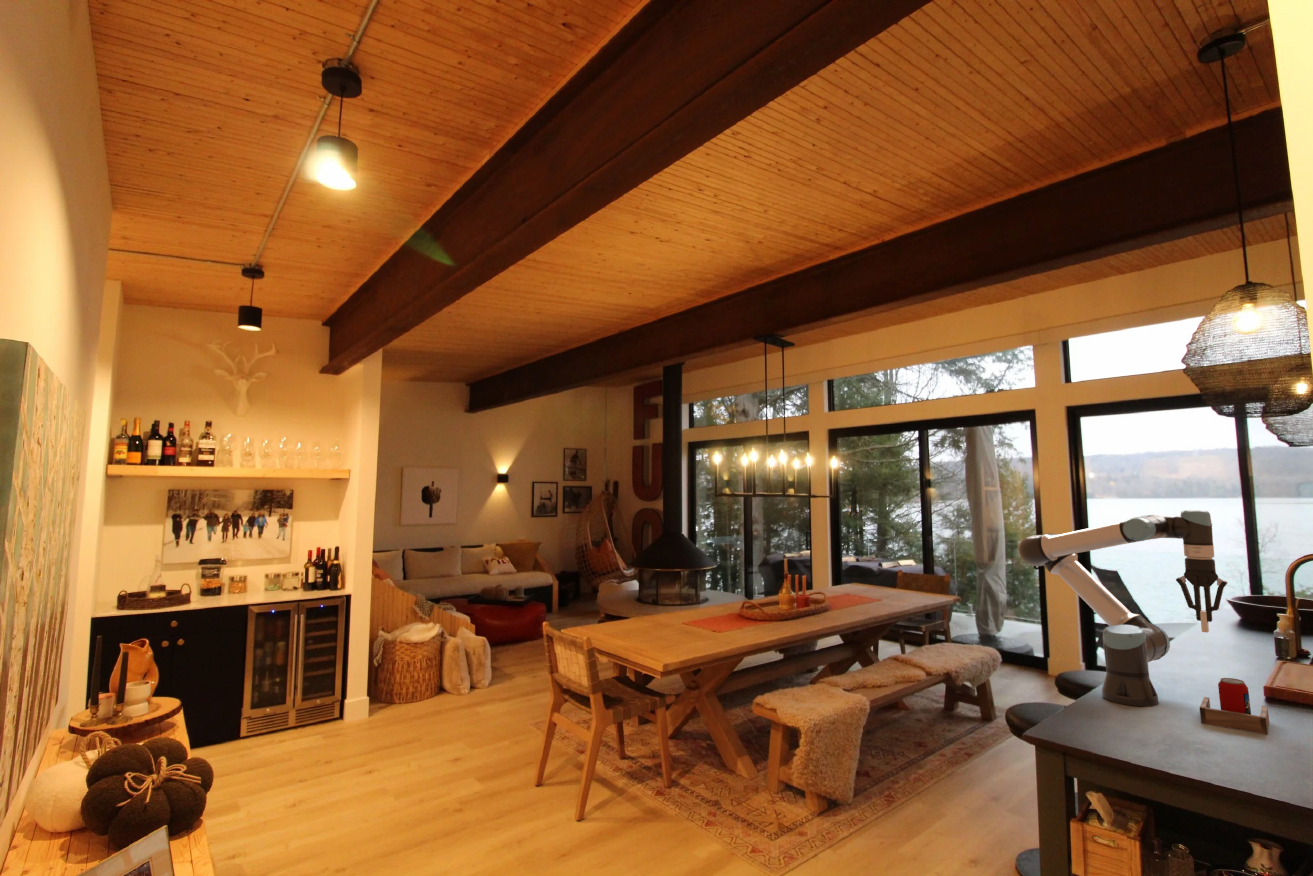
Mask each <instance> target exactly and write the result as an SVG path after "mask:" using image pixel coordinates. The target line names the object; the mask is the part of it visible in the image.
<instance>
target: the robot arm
mask: <svg viewBox="0 0 1313 876" xmlns="http://www.w3.org/2000/svg"><path fill="white" fill-rule="evenodd" d="M1157 539H1182V542H1183V544H1182V545H1183V554H1184V557H1185V558H1184V567H1185V570H1184V573H1183V575H1182V576H1180V577H1176V578H1175V581H1176V582H1177V583H1178V585H1179V586H1180V589H1181V591H1182V593H1183V596H1184V599H1185V603H1186V604H1187V606H1188V608H1189V609H1192V610H1194V611H1195V616H1196V617H1195V618H1196V620H1197V621H1198V622H1199V621H1200V627H1201V632H1202V633H1209V632H1210V628H1209V623H1211V622H1213V612H1217V611H1218V610H1219V609H1220V605H1221V602H1222V601H1221V600H1222V596H1223V592H1224V589H1225V587H1226V586H1227V585H1228V581H1227V580H1224V579H1222V578H1220V577H1219V575H1218V573H1217V571H1216V560H1215V559H1213V558H1215V547H1214V538H1213V524H1212V518H1211V513H1210V512H1209V511H1208V510H1202V509H1199V510H1198V509H1197V510H1196V509H1195V510H1194V509H1193V510H1192V509H1189V510H1188V509H1185V510H1181V512H1180V515H1157V514H1156V515H1155V514H1147V515H1141V516H1138V517H1137V516H1136V517H1131V518H1130V519H1126V520H1121V521H1117V522H1112V523H1107V524H1102V525H1097V526H1094V527H1089V528H1084V529H1079V530H1075V531H1070V532H1064V533H1061V534H1059V533H1050V532H1049V533H1044V534H1036V535H1029V536H1026V537H1025V538H1023V539H1022V540H1021V541H1020V543H1019V546H1018V553H1019V555H1020V558H1021V559H1022V560H1023V561H1024V562H1025V563H1027V564H1028V565H1031V566H1033V567H1044V568H1045V569H1046V570H1047V571H1048V572H1049V573H1050V574H1051V575H1057V576H1059V577H1060V578H1061V580H1063V581H1064V583H1066V584H1067V585H1068V586H1069V587H1070V588H1071V589H1072V590H1073V591H1074V592H1075V593H1076V594H1077V595H1078V596H1079V597H1080V598H1081V599H1082V600H1083V601H1084V602H1085V603H1086V605H1088V606H1089V608H1091V609H1092V611H1093V612H1095V614H1097V615H1098V616H1099V617H1100V618H1101V620H1103V621H1104V622H1105V623H1106V624H1107V626H1106V627H1105V628H1104V629H1103V631H1102V638H1101V639H1102V643H1103V651H1104V661H1105V663H1104V664H1105V670H1106V671H1105V672H1106V674H1105V677H1104V681H1103V684H1102V687H1101V694H1102V697H1103V698H1104V699H1105V700H1107V701H1110V702H1113V703H1116V704H1120V705H1126V706H1132V707H1133V706H1134V707H1153V706H1157V705H1159V703H1160V702H1159V696H1158V693H1157V691H1156V689H1155V687H1154V685H1153V683H1152V681H1151V678H1150V672H1149V663H1150V662H1152V661H1157V660H1160V659H1161V658H1163V657H1164V656H1166V655H1167V653H1169V652H1170V648H1171V642H1170V637H1169V635H1168V634H1167V632H1166V631H1165V630H1164V629H1163V628H1161V627H1160V626H1158V625H1157V624H1154V623H1150V622H1148V621H1147V620H1146V619H1145V618H1144V617H1143V616H1142V615H1141V614H1138V613H1132V612H1131V610H1129V609H1128V608H1127V607H1126V606H1125V605H1124V604H1123V603H1122V602H1121V601H1120V600H1118V598H1117V597H1116V596H1114V595H1113V593H1111V591H1110V590H1108V588H1107V587H1105V586H1104V584H1102V583H1101V582H1100V581H1099V580H1098V579H1097V577H1095V576H1094V575H1092V573H1091V572H1090V571H1089V570H1088V569H1086V568H1085V566H1083V564H1082V563H1080V562H1079V561H1078V559H1079V557H1078V556H1079V555H1078V554H1079V553H1084V552H1085V553H1086V552H1091V551H1094V550H1095V551H1096V550H1101V549H1106V548H1111V547H1116V546H1121V545H1127V544H1133V543H1138V542H1144V541H1150V540H1157ZM1187 581H1188V582H1189V583H1190V585H1192V586H1193V587H1192V588H1193V593H1194V594H1193V595H1194V597H1193V598H1194V600H1193V598H1192V596H1191V593H1190V591H1189V588H1188V586H1187ZM1215 582H1216V585H1217V586H1218V587H1217V589H1216V593H1215V597H1214V602H1213V606H1212V595H1211V586H1212V585H1213V584H1215ZM1201 587H1203V593H1204V594H1203V595H1204V605H1205V610H1202V600H1201V599H1202V598H1201ZM1193 601H1194V602H1193Z"/></svg>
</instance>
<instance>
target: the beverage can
mask: <svg viewBox="0 0 1313 876" xmlns="http://www.w3.org/2000/svg"><path fill="white" fill-rule="evenodd" d="M1217 684H1218V686H1217V687H1218V697H1219V698H1218V699H1219V705H1220V710H1225V711H1231V712H1237V713H1243V714H1250V715H1252V712H1251V711H1252V710H1251V703H1250V702H1251V701H1250V694H1249V688H1248V685H1246V683H1245V681H1244V680H1241V679H1237V678H1232V677H1222V678H1220V680H1219V682H1218V683H1217Z"/></svg>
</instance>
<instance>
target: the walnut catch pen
mask: <svg viewBox="0 0 1313 876" xmlns="http://www.w3.org/2000/svg"><path fill="white" fill-rule="evenodd" d="M1199 715H1200V724H1203V725H1210V726H1216V727H1220V728H1227V729H1232V730H1237V731H1238V730H1239V731H1244V732H1249V733H1256V734H1263V735H1269V728H1270V727H1269V726H1270V716H1269V707H1268V705H1261V709H1260V715H1255V714H1251V715H1250V714H1243V713H1237V712H1231V711H1225V710H1221V709H1219V708H1211V702H1210V697H1207V696H1204V697H1203V699H1202V700H1201V704H1200V706H1199Z"/></svg>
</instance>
